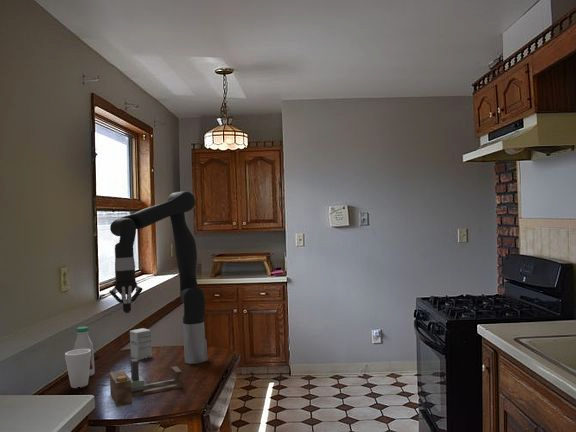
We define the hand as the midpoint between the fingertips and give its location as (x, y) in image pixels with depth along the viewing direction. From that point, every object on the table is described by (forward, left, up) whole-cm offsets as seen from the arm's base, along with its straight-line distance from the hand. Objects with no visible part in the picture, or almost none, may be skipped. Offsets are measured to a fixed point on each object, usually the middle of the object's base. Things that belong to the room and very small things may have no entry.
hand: (127, 312), depth 199 cm
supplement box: (-11, -35, -27) cm, 46 cm away
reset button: (+7, +24, -22) cm, 34 cm away
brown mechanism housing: (-3, +19, -27) cm, 33 cm away
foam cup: (+18, -7, -27) cm, 33 cm away
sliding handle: (+1, +16, -26) cm, 30 cm away
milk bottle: (+15, -20, -27) cm, 37 cm away
